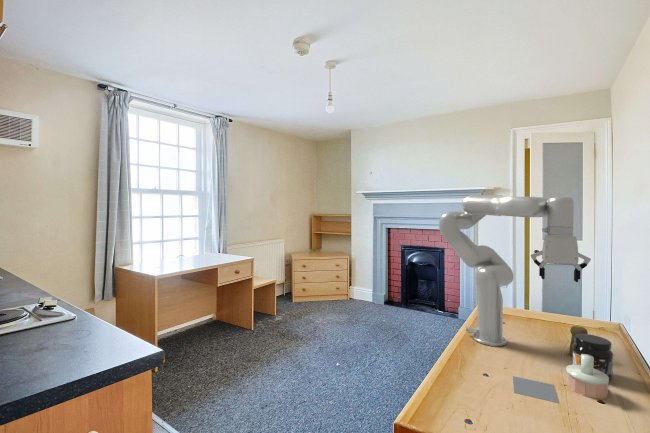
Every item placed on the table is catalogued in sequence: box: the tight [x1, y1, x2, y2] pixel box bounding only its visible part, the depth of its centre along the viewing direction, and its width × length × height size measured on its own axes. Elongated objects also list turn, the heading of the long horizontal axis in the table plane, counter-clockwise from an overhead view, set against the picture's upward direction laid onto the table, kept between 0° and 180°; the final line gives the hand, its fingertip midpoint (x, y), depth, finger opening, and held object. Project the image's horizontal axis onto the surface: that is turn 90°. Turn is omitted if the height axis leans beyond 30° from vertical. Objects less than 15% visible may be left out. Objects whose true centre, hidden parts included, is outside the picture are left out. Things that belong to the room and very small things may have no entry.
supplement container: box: [571, 333, 614, 381], centre depth 108 cm, size 10×10×12 cm
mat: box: [512, 375, 560, 404], centre depth 98 cm, size 11×11×1 cm
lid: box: [565, 354, 610, 385], centre depth 98 cm, size 10×10×6 cm
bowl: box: [566, 373, 609, 400], centre depth 98 cm, size 9×9×5 cm
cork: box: [568, 325, 589, 358], centre depth 122 cm, size 6×6×11 cm
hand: (559, 279), depth 115 cm, fingers open, 9 cm apart
